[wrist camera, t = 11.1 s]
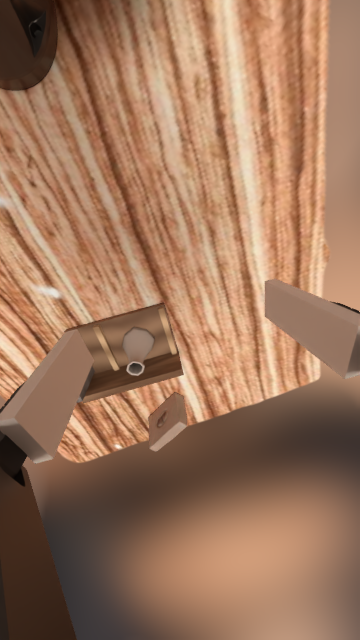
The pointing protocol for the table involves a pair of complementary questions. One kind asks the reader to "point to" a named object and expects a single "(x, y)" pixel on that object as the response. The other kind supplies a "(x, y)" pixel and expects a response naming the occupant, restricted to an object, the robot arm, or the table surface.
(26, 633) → the robot arm
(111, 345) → the brown open box
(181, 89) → the table surface
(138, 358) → the flask
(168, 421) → the fossil
